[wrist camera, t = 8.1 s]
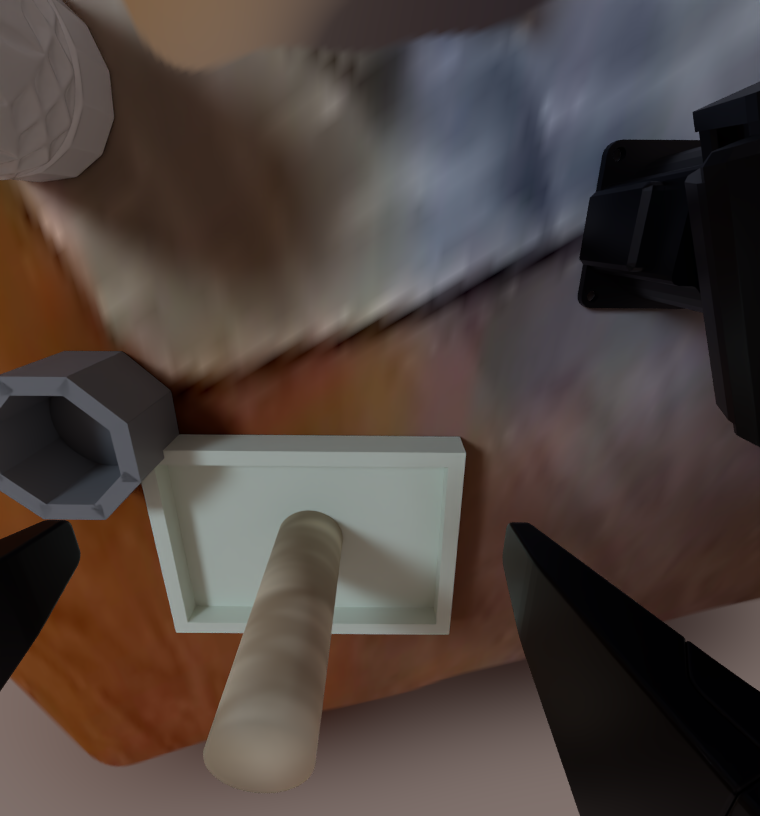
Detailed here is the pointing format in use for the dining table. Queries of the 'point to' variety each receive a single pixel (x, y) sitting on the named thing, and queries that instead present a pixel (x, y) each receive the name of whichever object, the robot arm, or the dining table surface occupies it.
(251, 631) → the pin
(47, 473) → the pen cup
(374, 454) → the tray
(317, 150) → the dining table surface
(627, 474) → the dining table surface
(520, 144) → the dining table surface
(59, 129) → the white cup
